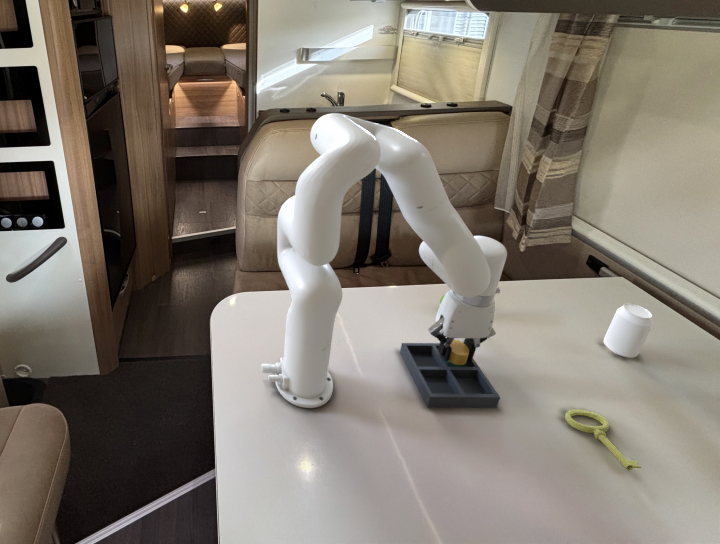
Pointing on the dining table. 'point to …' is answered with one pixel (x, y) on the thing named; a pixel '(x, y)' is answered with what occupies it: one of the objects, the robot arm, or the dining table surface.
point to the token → (458, 353)
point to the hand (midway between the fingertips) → (454, 355)
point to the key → (599, 434)
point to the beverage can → (628, 330)
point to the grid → (447, 379)
